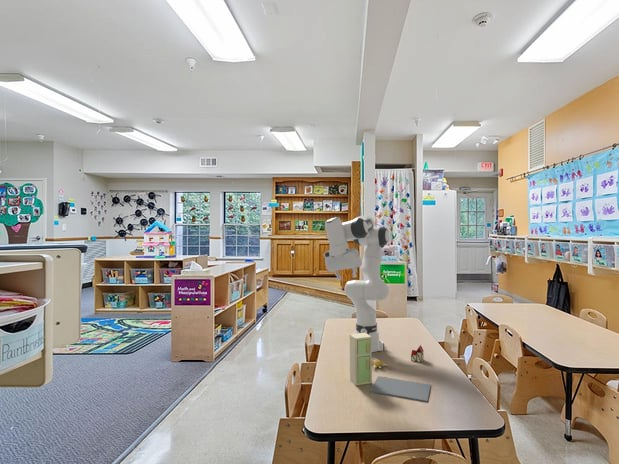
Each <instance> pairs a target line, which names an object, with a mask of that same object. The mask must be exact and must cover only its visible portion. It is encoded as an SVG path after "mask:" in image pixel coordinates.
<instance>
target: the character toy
mask: <svg viewBox="0 0 619 464" xmlns="http://www.w3.org/2000/svg"><path fill="white" fill-rule="evenodd" d="M381 366H384V367H388V366H389V364H387V363H384V362H382V361H381V360H379V359H378V358H372V367H373V368H374V369H377V368H379V369H382V367H381Z"/></svg>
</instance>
